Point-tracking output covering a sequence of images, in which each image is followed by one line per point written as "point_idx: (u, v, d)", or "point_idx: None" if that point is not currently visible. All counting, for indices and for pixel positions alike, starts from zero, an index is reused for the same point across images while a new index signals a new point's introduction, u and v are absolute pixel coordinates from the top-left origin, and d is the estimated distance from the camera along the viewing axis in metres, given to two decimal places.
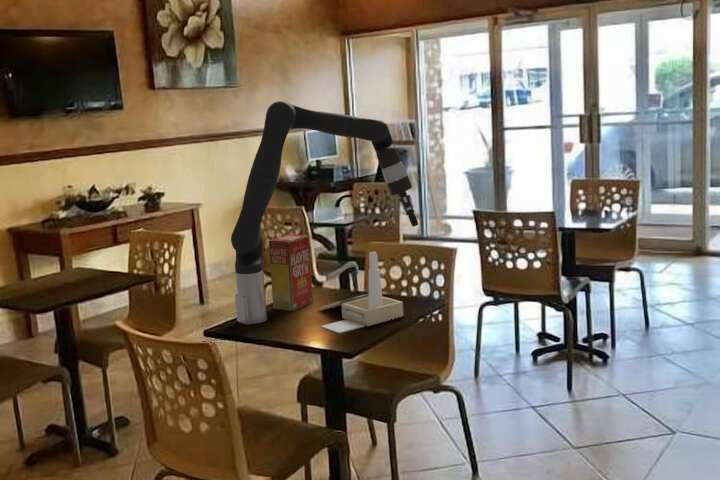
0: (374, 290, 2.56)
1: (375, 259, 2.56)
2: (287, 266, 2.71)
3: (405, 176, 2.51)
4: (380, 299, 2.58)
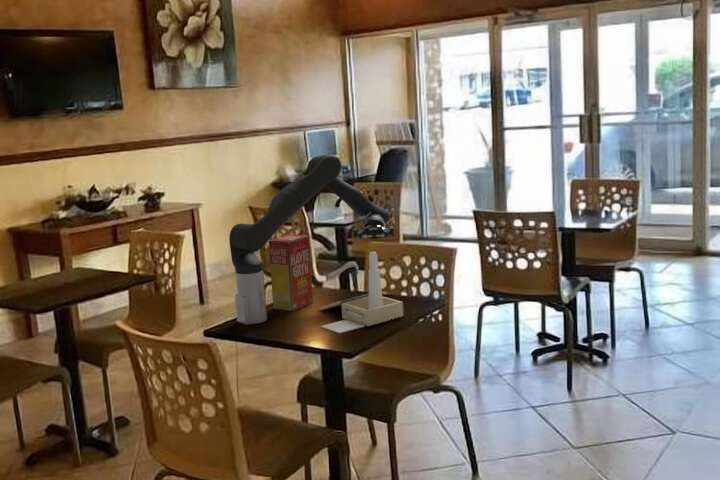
0: (374, 290, 2.56)
1: (375, 259, 2.56)
2: (287, 266, 2.71)
3: None
4: (380, 299, 2.58)
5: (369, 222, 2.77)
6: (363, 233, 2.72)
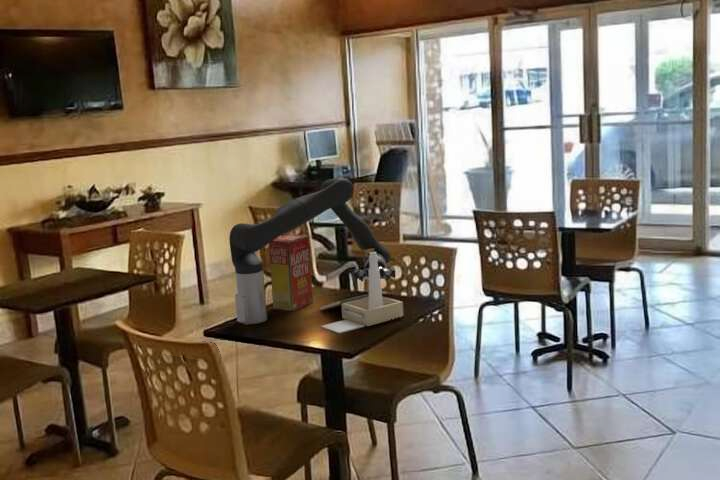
0: (374, 290, 2.56)
1: (375, 259, 2.56)
2: (287, 266, 2.71)
3: None
4: (380, 299, 2.58)
5: None
6: (364, 275, 2.70)
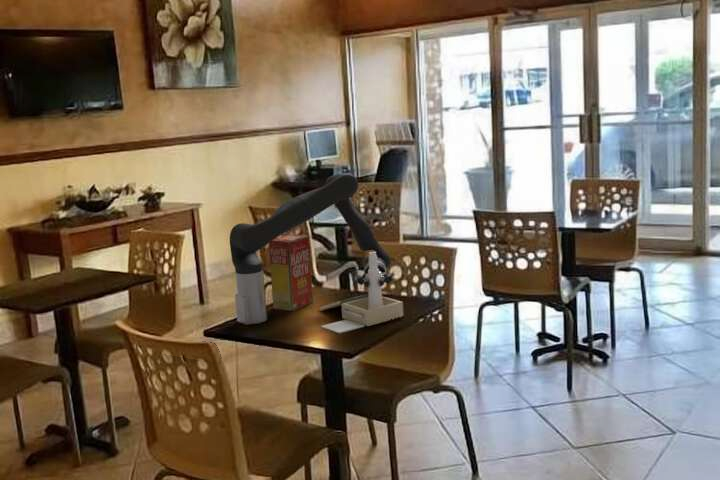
0: (374, 290, 2.56)
1: (375, 259, 2.55)
2: (287, 266, 2.71)
3: None
4: (380, 299, 2.58)
5: None
6: None
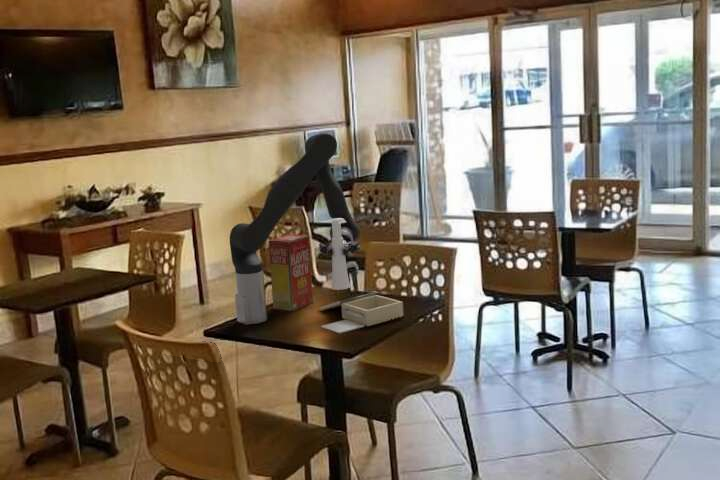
0: (337, 259, 2.45)
1: (338, 227, 2.44)
2: (287, 266, 2.71)
3: None
4: (344, 269, 2.46)
5: None
6: None
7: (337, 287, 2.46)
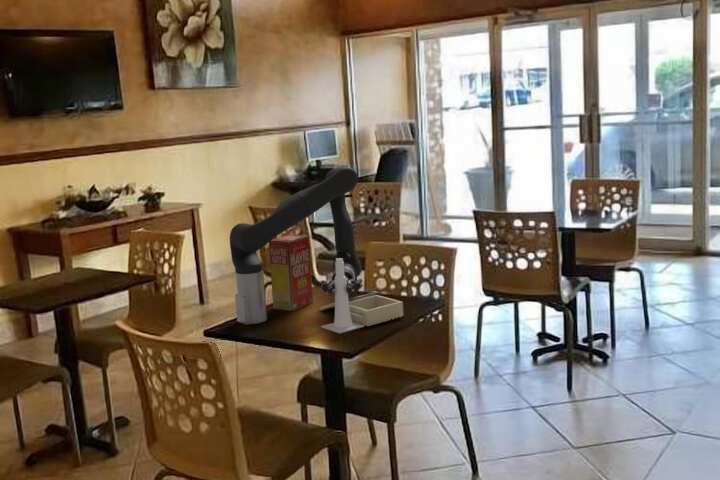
0: (340, 298, 2.47)
1: (341, 266, 2.46)
2: (287, 266, 2.71)
3: None
4: (347, 307, 2.48)
5: None
6: (333, 287, 2.52)
7: (339, 325, 2.48)
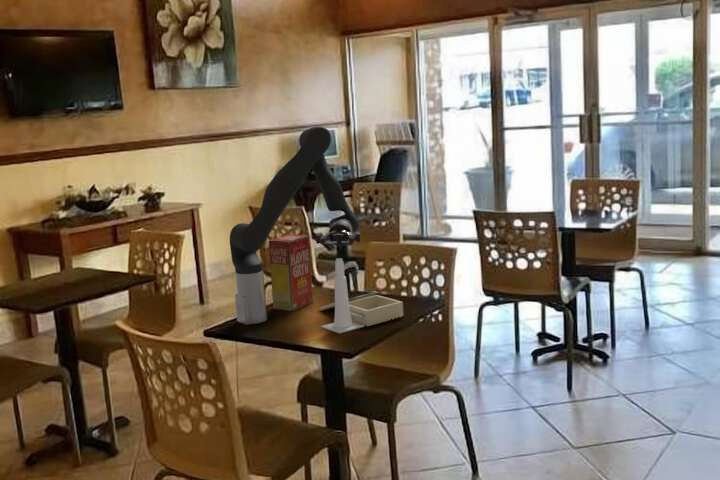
0: (340, 298, 2.47)
1: (341, 266, 2.46)
2: (287, 266, 2.71)
3: None
4: (347, 307, 2.48)
5: (334, 227, 2.55)
6: (327, 239, 2.50)
7: (339, 325, 2.48)
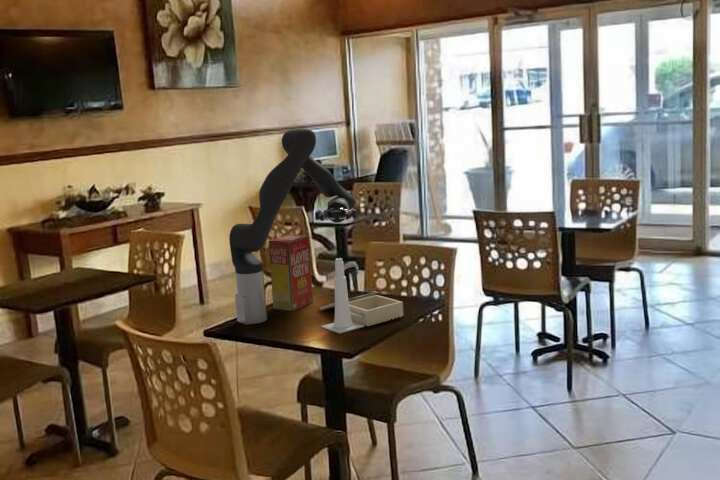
0: (340, 298, 2.47)
1: (341, 266, 2.46)
2: (287, 266, 2.71)
3: None
4: (347, 307, 2.48)
5: (332, 205, 2.74)
6: (325, 215, 2.69)
7: (339, 325, 2.48)
